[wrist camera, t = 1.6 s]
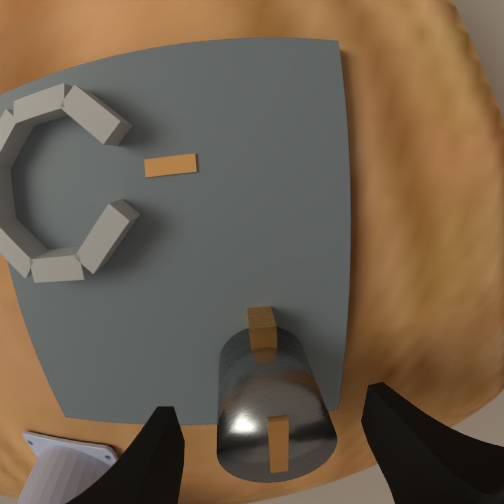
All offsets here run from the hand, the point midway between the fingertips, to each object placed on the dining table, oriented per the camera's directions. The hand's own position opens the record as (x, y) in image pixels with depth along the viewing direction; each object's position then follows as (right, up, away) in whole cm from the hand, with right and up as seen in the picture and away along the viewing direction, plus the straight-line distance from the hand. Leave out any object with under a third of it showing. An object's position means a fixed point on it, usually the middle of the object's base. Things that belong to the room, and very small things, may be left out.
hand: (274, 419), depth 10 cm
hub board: (-5, +6, +3) cm, 8 cm away
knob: (0, +1, +4) cm, 4 cm away
